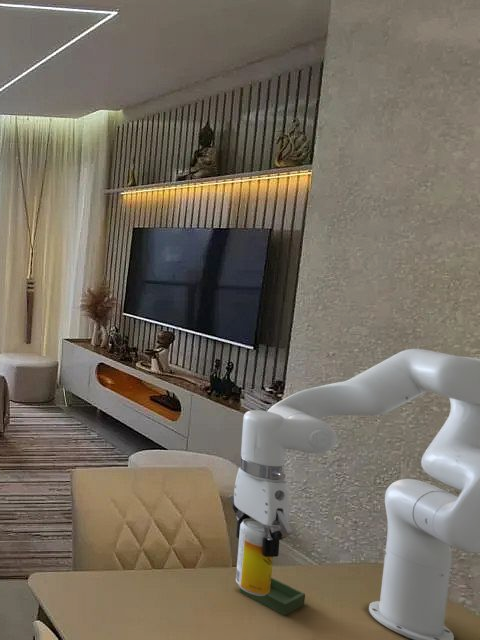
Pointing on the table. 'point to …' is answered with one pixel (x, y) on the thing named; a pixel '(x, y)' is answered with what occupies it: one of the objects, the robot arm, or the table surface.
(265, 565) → the beer can
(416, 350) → the robot arm
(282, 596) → the can tray
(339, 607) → the table surface
